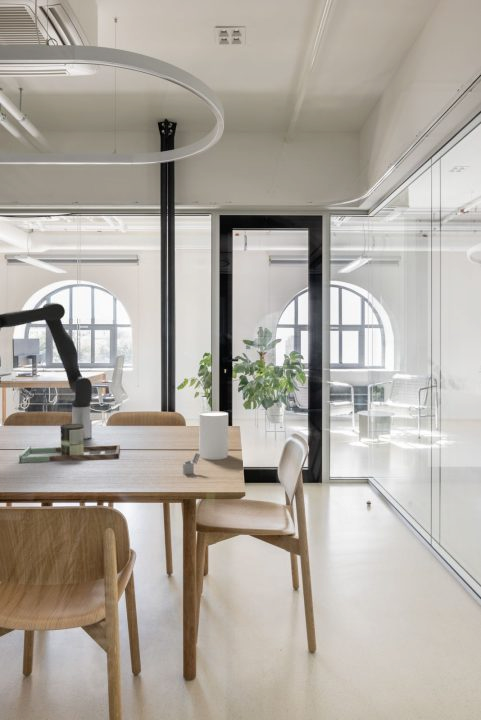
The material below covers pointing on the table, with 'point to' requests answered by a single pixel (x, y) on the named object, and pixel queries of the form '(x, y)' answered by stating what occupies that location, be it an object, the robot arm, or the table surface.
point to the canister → (213, 435)
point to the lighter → (190, 465)
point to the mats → (105, 452)
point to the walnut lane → (89, 456)
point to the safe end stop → (35, 458)
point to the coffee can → (72, 439)
